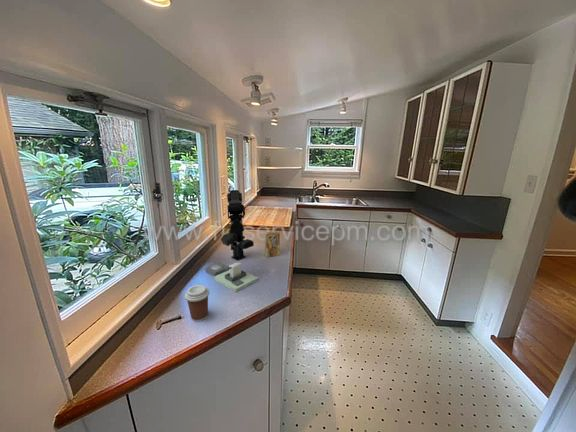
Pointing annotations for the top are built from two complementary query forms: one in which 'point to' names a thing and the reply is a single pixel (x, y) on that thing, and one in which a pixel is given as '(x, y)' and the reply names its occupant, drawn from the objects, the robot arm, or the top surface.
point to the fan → (216, 269)
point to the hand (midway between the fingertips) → (238, 255)
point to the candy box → (272, 244)
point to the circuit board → (236, 280)
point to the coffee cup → (198, 302)
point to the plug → (234, 269)
